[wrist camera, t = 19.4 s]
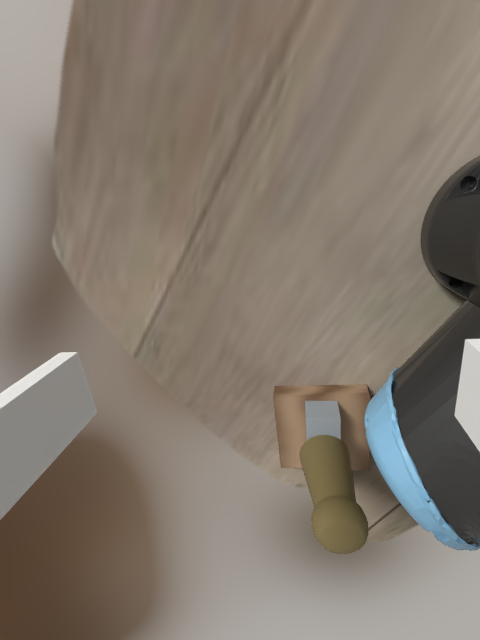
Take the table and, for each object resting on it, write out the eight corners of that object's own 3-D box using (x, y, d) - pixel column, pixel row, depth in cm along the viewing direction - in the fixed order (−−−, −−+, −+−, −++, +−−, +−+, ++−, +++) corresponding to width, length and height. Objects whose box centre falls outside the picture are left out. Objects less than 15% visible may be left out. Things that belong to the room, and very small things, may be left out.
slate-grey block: (337, 400, 41) (340, 418, 38) (337, 467, 45) (340, 489, 42) (305, 400, 42) (305, 418, 38) (307, 466, 46) (308, 487, 42)
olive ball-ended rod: (315, 481, 41) (330, 573, 31) (289, 448, 40) (296, 531, 29) (358, 462, 40) (390, 551, 29) (333, 426, 38) (356, 506, 28)
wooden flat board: (365, 381, 43) (370, 396, 40) (364, 451, 47) (369, 470, 44) (275, 382, 46) (273, 397, 42) (282, 449, 50) (281, 467, 46)
